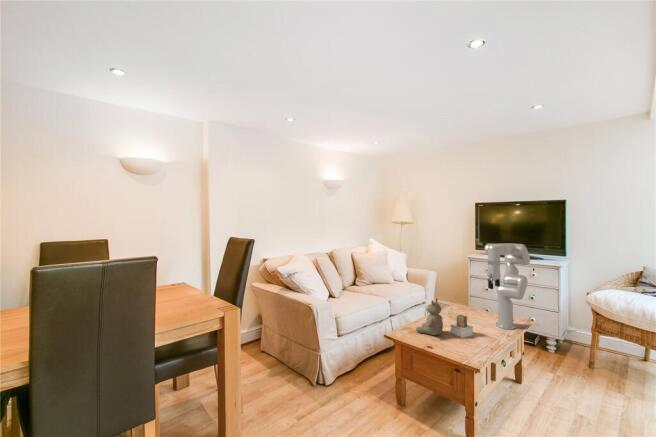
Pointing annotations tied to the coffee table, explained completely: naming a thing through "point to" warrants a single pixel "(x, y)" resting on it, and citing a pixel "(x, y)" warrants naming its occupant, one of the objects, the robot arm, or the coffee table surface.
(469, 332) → the pale grey box
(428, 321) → the grey cat statue
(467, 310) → the coffee table surface
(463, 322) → the walnut block
